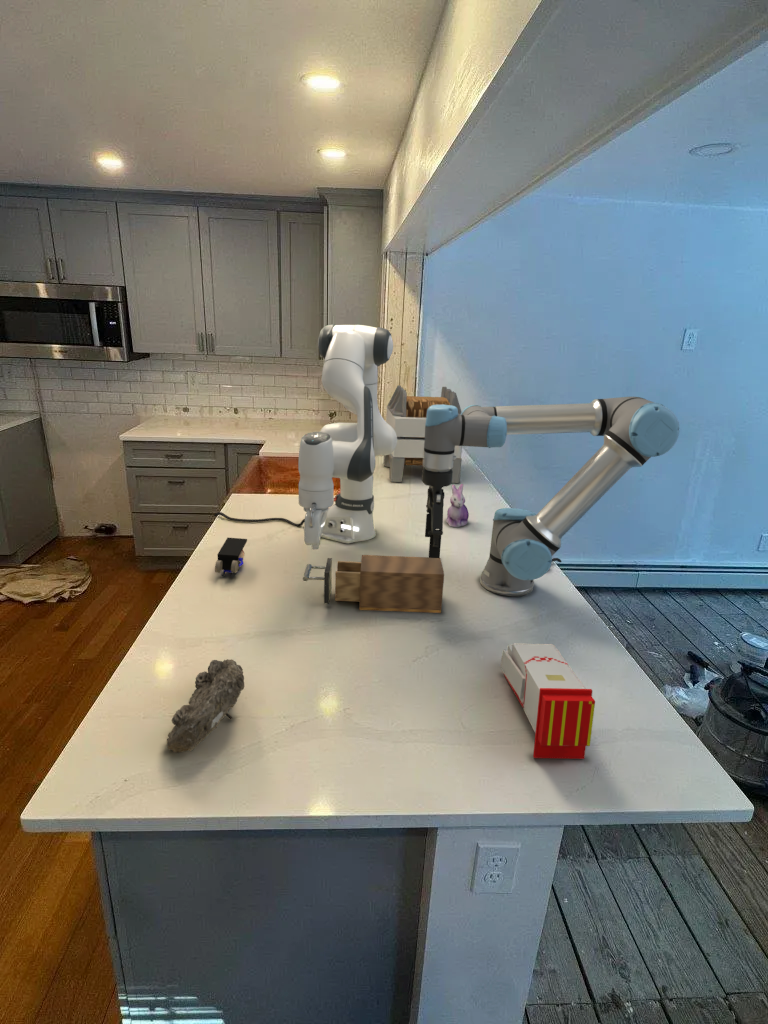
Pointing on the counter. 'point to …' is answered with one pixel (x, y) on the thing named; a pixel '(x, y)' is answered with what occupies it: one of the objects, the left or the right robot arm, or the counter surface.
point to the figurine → (457, 508)
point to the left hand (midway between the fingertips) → (316, 547)
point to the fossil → (206, 705)
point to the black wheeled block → (230, 556)
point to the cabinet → (401, 583)
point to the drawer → (339, 580)
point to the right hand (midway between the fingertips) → (431, 546)
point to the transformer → (415, 430)
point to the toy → (550, 699)
